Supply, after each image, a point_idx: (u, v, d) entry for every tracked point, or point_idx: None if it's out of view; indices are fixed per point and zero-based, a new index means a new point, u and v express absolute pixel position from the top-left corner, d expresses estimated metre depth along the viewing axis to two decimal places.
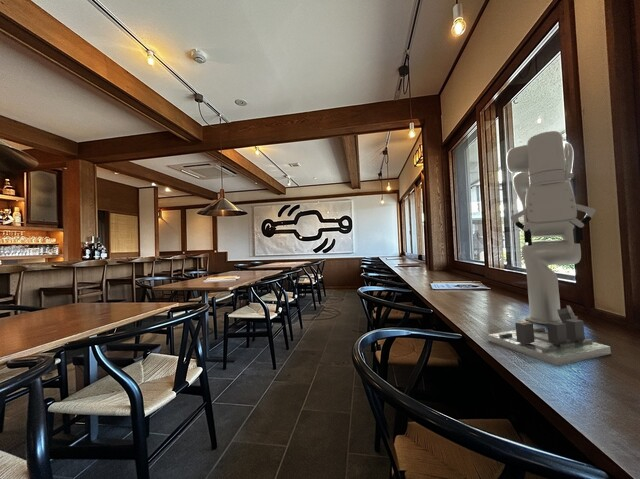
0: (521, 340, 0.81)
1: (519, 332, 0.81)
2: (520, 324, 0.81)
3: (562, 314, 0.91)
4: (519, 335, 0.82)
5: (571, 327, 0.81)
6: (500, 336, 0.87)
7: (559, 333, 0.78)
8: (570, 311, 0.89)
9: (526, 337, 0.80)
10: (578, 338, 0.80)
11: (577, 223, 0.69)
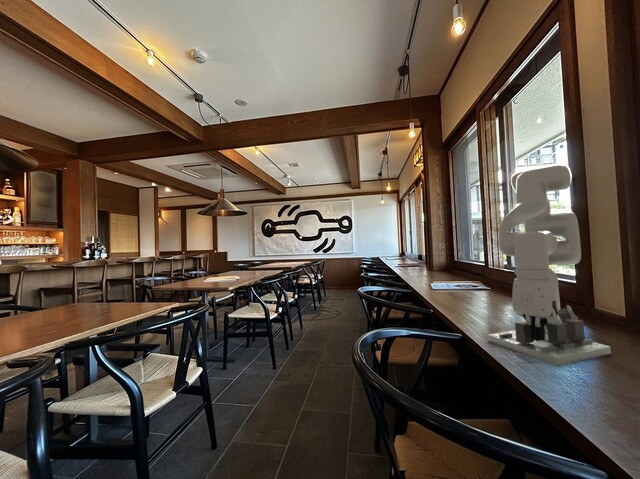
0: (520, 340, 0.81)
1: (519, 332, 0.82)
2: (519, 324, 0.81)
3: (562, 314, 0.91)
4: (519, 335, 0.82)
5: (571, 327, 0.81)
6: (500, 336, 0.87)
7: (559, 333, 0.78)
8: (570, 311, 0.89)
9: (526, 337, 0.80)
10: (578, 338, 0.80)
11: None
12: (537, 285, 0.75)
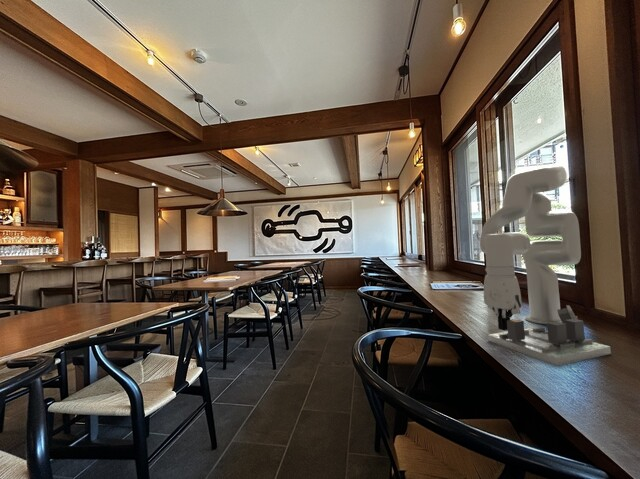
0: (512, 337, 0.84)
1: (510, 329, 0.84)
2: (511, 322, 0.84)
3: (562, 314, 0.91)
4: (510, 332, 0.84)
5: (571, 327, 0.81)
6: (500, 336, 0.87)
7: (559, 333, 0.78)
8: (570, 311, 0.89)
9: (517, 334, 0.83)
10: (578, 338, 0.80)
11: None
12: (503, 281, 0.85)
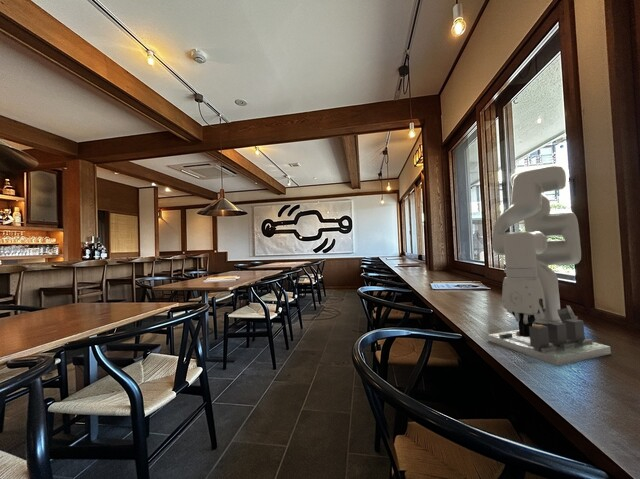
0: (535, 345, 0.77)
1: (533, 336, 0.78)
2: (534, 328, 0.77)
3: (562, 314, 0.91)
4: (533, 339, 0.78)
5: (571, 327, 0.81)
6: (500, 336, 0.87)
7: (559, 333, 0.78)
8: (570, 311, 0.89)
9: (541, 341, 0.76)
10: (578, 338, 0.80)
11: None
12: (525, 283, 0.78)
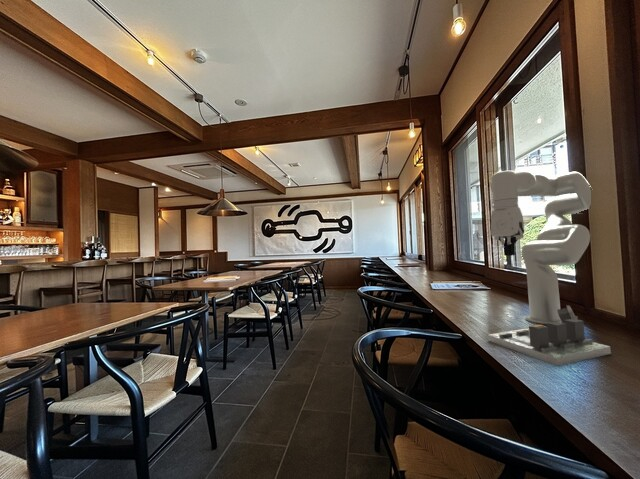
0: (535, 344, 0.77)
1: (533, 336, 0.78)
2: (534, 328, 0.77)
3: (562, 314, 0.91)
4: (533, 339, 0.78)
5: (571, 327, 0.81)
6: (500, 336, 0.87)
7: (559, 333, 0.78)
8: (570, 311, 0.89)
9: (541, 341, 0.76)
10: (578, 338, 0.80)
11: None
12: (508, 211, 0.97)
